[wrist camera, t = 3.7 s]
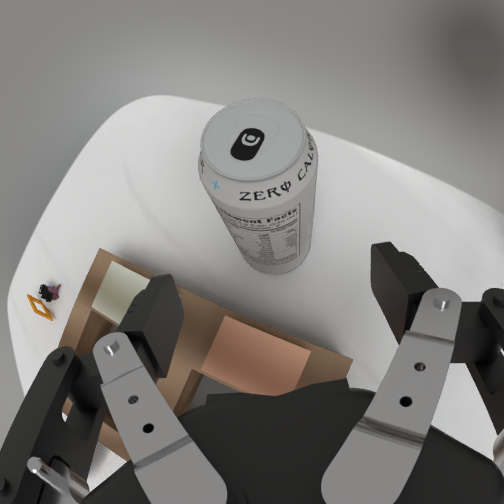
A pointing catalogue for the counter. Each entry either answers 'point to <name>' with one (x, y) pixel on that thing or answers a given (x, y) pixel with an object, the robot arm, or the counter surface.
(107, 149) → the counter surface
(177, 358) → the socket block
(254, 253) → the energy drink can
